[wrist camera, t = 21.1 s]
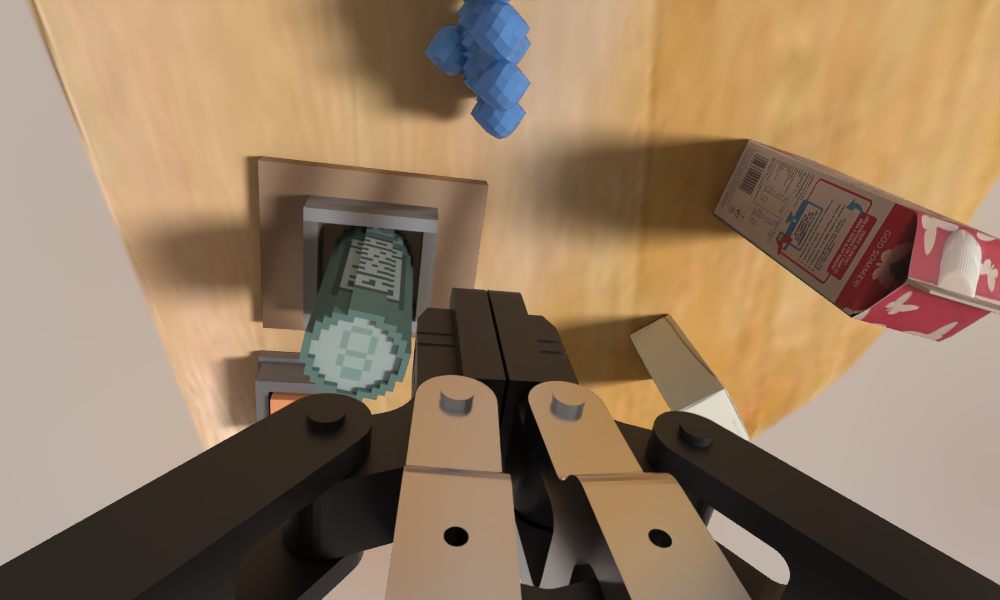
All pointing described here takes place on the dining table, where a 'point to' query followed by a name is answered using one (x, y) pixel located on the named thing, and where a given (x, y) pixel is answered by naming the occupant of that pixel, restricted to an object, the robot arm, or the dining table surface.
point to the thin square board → (361, 202)
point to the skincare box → (685, 375)
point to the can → (362, 315)
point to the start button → (284, 399)
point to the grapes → (487, 60)
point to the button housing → (280, 379)
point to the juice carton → (863, 244)
